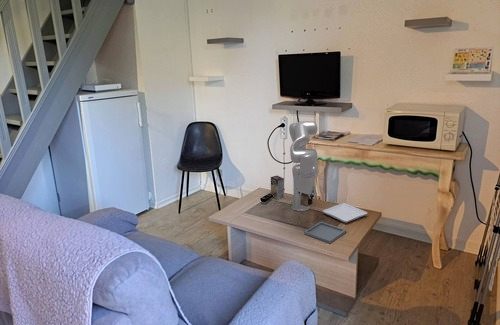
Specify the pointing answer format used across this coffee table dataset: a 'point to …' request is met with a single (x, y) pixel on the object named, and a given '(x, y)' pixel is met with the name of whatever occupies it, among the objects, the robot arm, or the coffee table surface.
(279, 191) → the coffee box
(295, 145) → the robot arm
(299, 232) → the coffee table surface
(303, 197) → the walnut block
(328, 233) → the slate dish
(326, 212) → the salad plate
